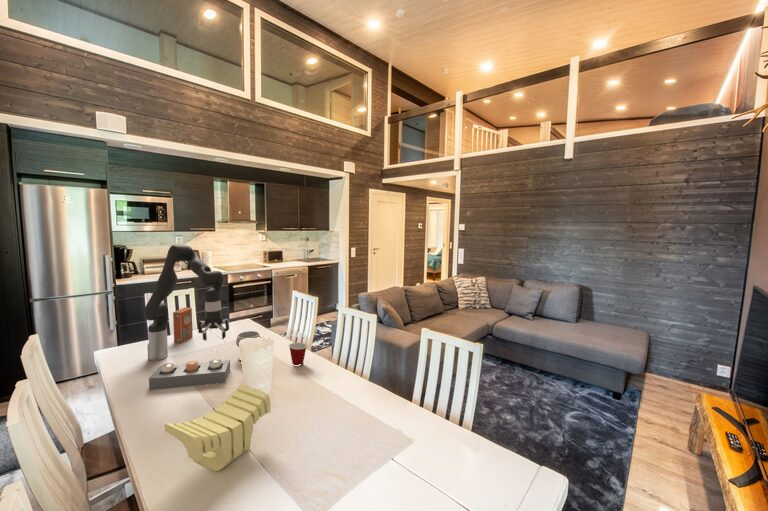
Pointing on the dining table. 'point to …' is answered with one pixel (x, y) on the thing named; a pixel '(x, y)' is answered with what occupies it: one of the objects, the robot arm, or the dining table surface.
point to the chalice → (246, 335)
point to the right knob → (215, 364)
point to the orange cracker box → (182, 325)
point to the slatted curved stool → (223, 428)
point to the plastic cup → (297, 352)
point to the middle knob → (192, 366)
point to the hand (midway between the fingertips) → (214, 339)
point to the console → (189, 376)
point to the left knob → (168, 368)
